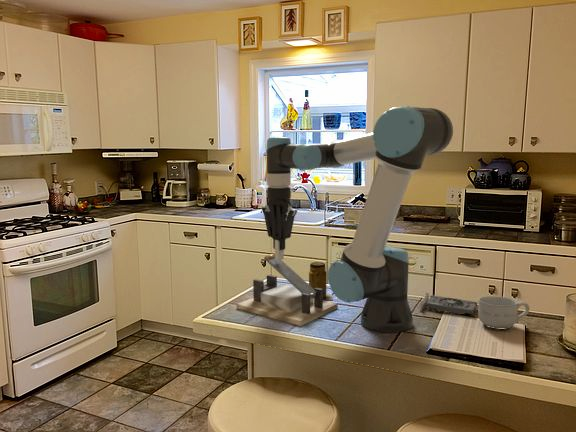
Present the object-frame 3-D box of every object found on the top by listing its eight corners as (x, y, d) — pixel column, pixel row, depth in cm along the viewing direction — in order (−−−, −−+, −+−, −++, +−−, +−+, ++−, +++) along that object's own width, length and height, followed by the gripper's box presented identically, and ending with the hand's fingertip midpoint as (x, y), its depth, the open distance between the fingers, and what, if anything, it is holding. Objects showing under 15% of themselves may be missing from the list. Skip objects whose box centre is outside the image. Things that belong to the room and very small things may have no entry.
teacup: (476, 330, 146) (478, 303, 145) (476, 317, 156) (478, 292, 155) (530, 336, 141) (532, 308, 140) (526, 323, 151) (528, 297, 150)
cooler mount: (337, 307, 165) (337, 282, 164) (301, 326, 150) (300, 298, 148) (275, 293, 181) (275, 270, 180) (236, 308, 166) (236, 283, 164)
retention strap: (317, 296, 160) (320, 292, 160) (308, 300, 156) (310, 296, 156) (273, 256, 170) (275, 252, 169) (263, 259, 166) (265, 255, 165)
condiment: (307, 294, 180) (308, 260, 179) (331, 294, 180) (332, 261, 178) (307, 300, 173) (307, 266, 171) (332, 300, 173) (333, 266, 171)
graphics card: (416, 302, 161) (425, 291, 171) (416, 313, 162) (425, 302, 172) (472, 311, 153) (478, 299, 164) (472, 323, 154) (478, 310, 164)
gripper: (302, 186, 160) (302, 259, 164) (270, 184, 168) (271, 254, 172) (287, 188, 154) (288, 264, 158) (255, 186, 162) (256, 258, 166)
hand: (279, 259), depth 165 cm, fingers closed
